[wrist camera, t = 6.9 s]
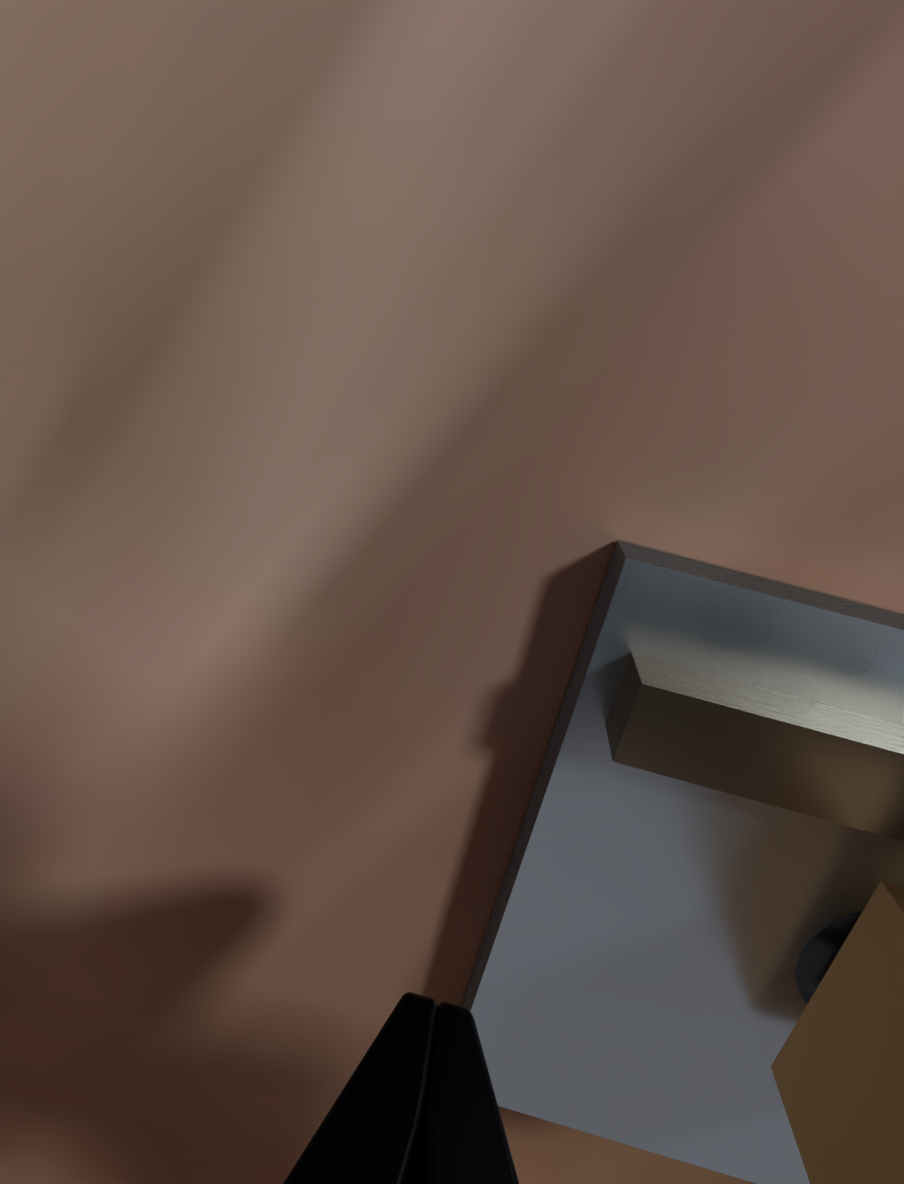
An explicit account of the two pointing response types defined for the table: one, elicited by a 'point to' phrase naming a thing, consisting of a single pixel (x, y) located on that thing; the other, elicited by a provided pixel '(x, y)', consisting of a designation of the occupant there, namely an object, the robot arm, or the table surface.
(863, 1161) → the leg
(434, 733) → the table surface
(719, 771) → the plate
